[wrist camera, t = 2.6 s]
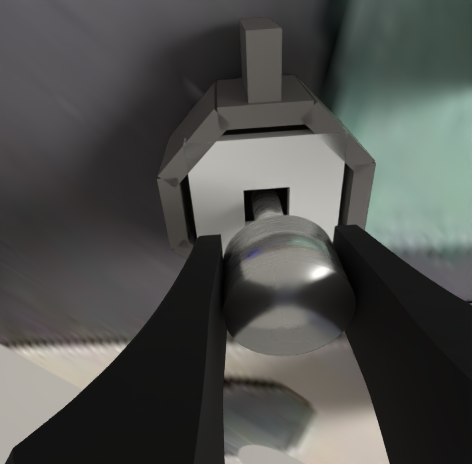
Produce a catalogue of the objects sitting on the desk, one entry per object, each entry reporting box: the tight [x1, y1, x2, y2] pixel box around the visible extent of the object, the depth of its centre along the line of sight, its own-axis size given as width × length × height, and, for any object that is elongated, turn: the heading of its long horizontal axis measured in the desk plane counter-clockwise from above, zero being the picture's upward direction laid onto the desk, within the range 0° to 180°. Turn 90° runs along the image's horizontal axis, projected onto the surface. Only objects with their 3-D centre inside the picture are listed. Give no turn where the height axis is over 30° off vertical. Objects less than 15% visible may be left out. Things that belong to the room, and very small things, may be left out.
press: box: [157, 17, 376, 260], centre depth 14 cm, size 9×7×4 cm
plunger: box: [223, 188, 356, 356], centre depth 11 cm, size 3×3×6 cm
